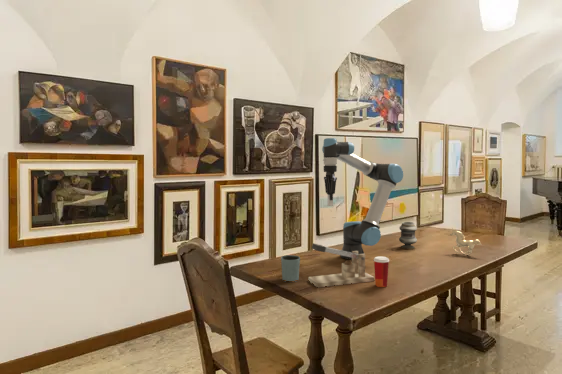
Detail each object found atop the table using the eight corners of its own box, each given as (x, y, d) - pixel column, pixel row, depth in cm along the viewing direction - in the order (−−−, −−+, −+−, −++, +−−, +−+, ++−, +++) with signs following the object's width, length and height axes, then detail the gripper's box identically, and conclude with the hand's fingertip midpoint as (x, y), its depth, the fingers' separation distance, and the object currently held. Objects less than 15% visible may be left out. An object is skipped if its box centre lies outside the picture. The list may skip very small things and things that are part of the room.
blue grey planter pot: (289, 275, 218) (289, 254, 218) (304, 279, 212) (304, 256, 211) (277, 280, 211) (277, 257, 210) (292, 283, 204) (292, 260, 203)
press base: (362, 274, 219) (362, 249, 218) (374, 280, 207) (374, 254, 206) (308, 280, 209) (308, 254, 208) (317, 287, 198) (317, 259, 197)
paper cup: (386, 283, 203) (386, 255, 203) (391, 287, 196) (391, 259, 195) (371, 283, 203) (371, 256, 202) (375, 288, 196) (375, 260, 195)
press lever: (357, 258, 213) (358, 253, 214) (362, 260, 208) (363, 255, 208) (311, 248, 205) (312, 243, 205) (315, 250, 200) (317, 245, 200)
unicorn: (482, 256, 255) (483, 230, 254) (480, 258, 253) (480, 231, 251) (451, 252, 269) (451, 227, 268) (448, 253, 267) (449, 227, 266)
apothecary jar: (399, 249, 281) (399, 223, 280) (399, 245, 292) (399, 221, 291) (417, 249, 277) (417, 224, 276) (416, 246, 289) (416, 221, 288)
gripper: (319, 165, 236) (319, 204, 237) (328, 165, 223) (329, 207, 225) (331, 164, 238) (331, 204, 240) (341, 165, 226) (341, 206, 227)
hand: (330, 205), depth 232 cm, fingers closed
